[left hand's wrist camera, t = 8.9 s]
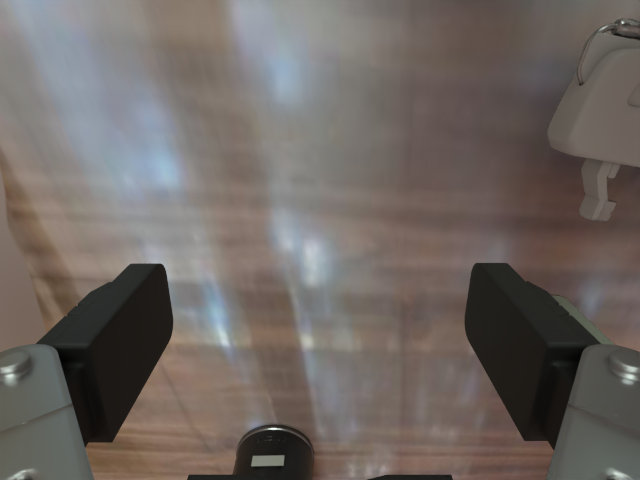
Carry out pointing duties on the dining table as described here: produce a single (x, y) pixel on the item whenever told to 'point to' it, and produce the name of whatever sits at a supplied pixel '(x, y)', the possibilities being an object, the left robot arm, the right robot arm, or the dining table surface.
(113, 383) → the left robot arm
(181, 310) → the dining table surface
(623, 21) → the right robot arm
